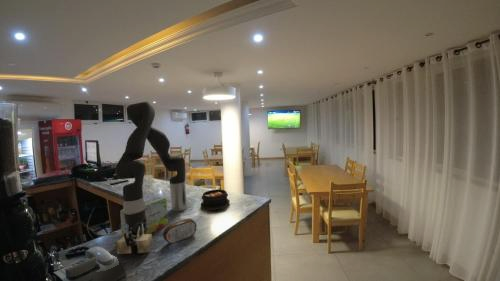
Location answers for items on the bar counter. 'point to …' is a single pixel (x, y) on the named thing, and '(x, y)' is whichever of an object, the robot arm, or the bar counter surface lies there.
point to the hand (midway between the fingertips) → (138, 249)
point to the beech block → (142, 244)
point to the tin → (179, 231)
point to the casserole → (215, 199)
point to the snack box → (150, 215)
